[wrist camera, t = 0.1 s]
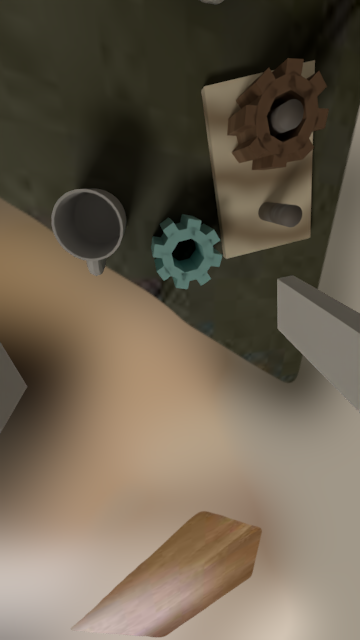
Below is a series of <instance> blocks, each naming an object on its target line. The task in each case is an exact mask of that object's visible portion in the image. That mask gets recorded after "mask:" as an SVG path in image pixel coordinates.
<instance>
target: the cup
mask: <svg viewBox="0 0 360 640" xmlns="http://www.w3.org/2000/svg"><path fill="white" fill-rule="evenodd" d="M126 221H127V220H126V213H125V211H124V208H123V206H122V204H121V203H120V201H119V200H118V199H117V198H116V197H115V196H114V195H113V194H111V193H109V192H107V191H105V190H101V189H97V188H95V189H75V190H72V191H70V192H67V193H65V194H64V195H63V196H62V197H60V198H59V200H58V201H57V203H56V204H55V206H54V208H53V212H52V228H53V232H54V235H55V237H56V239H57V241H58V242H59V244H60V245H61V246H62V247H63V248H64V249H65V250H66V251H67V252H69V253H70V254H71V255H73V256H74V257H77V258H79V259H82V260H86V261H87V266H88V269H89V271H90V273H91V274H93V275H96V276H97V275H100V274H102V273H103V270H104V268H105V264H106V258H107V257H109V256H110V255H111V254H113V253H114V252H115V251H116V249H117V248H118V247H119V245H120V242H121V240H122V237H123V234H124V231H125V229H126Z"/></svg>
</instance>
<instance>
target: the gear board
mask: <svg viewBox="0 0 360 640" xmlns="http://www.w3.org/2000/svg"><path fill="white" fill-rule="evenodd" d="M273 71H274V70H271V72H273ZM261 74H262V73H258V74H254V75H250V76H246V77H242V78H237V79H233V80H229V81H225V82H220V83H216V84H212V85H208V86H204V87H203V89H202V91H201V92H202V99H203V107H204V114H205V122H206V129H207V137H208V144H209V152H210V159H211V167H212V174H213V182H214V189H215V197H216V204H217V212H218V219H219V227H220V234H221V242H222V249H223V256H224V257H225V258H226V259H227V258H231V257H235V256H239V255H243V254H247V253H251V252H255V251H259V250H263V249H267V248H271V247H275V246H279V245H283V244H287V243H291V242H295V241H299V240H303V239H307V238H310V225H311V188H312V151H313V150H312V151H311V152H310V153H309V154H308V155H307V156H306V157H305V158H304V159H303V160H298V161H292V162H287V164H286V167H283V168H276V169H269V170H252V162H253V160H251V161H247V162H243V163H239V162H238V161H237V160H236V158H235V157H234V156H233V154H232V151H233V150H234V149H235V148H236V147H237V146H238V141H237V137H236V136H227V130H228V119H229V118H230V117H232V116H233V115H234V114H236V113H237V112H238V111H239V110H241V108H240V107H239V105H238V104H237V102H236V100H237V99H238V97H239V96H240V95H241V94H242V93H243V92H244V91H245V89H246V88H247V87H248V86H249V85H251V84H252V83H253V82H254V81H255V80H256V79H257V78H258V77H259V76H260V75H261ZM313 74H315V60H313V61H309V62H305V63H303V68H302V74H301V76H303V77H304V78H306V79H307V78H308V77H310V76H311V75H313ZM303 114H304V109H303V105H302V103H301V102H300V101H299V100H297V99H291V100H289V101H287V102H285V103H284V104H282V105H280V106H278V107H277V108H275V109H273V110H269V112H268V114H267V120H268V126H269V131H270V135H271V136H273V137H276V135H278V134H281V133H284V132H286V131H289V130H291V129H294V128H296V127H297V126H298V125H299V124H300V122H301V121H302V118H303ZM309 139H310V141H311V143H312V144H313V132H312V134H311V135H310V137H309Z"/></svg>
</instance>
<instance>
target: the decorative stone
mask: <svg viewBox="0 0 360 640" xmlns="http://www.w3.org/2000/svg"><path fill="white" fill-rule="evenodd" d="M200 1H202V2H204V3H210V4H215V5H216V4H220V3H221V2H223V1H224V0H200Z"/></svg>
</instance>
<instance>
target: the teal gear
mask: <svg viewBox="0 0 360 640" xmlns="http://www.w3.org/2000/svg"><path fill="white" fill-rule="evenodd" d="M160 226H161V228H162V230H163V232H164V233H163V234H162V236H161V237H155V236H153V238H152V246H151V248H152V254H153V257H156V259H155V265H156V270H157V272H158V274H159V275H160V276H161V277H162V279H163V280H164V281H165V280H166V279H167V278H169V277H170V276H172V277H173V280H174V283H175V286H176V288H183V289H188V285H189V281H191V280H195V279H197V280H198V282H199V283H200V285H201V286H202V285H203V284H204V283H206V282H207V281H209V280H210V279H211V278H210V276H209V275H208V273H207V271H208V269H209V268H210V266H216V267H219V266H220V262H221V258H222V254H221V253H219V252H218V251H217V250H216V249H215V248H213V245H214V244H216V243H217V242H219V241H220V239H219V237H218V235H217V234H216V232H215V230H214V229H212V228H211V227H209V226H207V225H205V224H204V223H203V224H202V225H201V220H199V219H197V218H196V217H194V216H190V215H185V214H182V216H181V221H180V223H177V224H174V222H173V221H172V220H171V219H170V218H169V217H168V218H167V219H166V220H164V221H163V222H162V223H160ZM188 239H193V240H194V242H195V247H196V249H195V251H194V252H193V254H192V255H191V257H190V258H189V259H185V260H181V261H178V260H177V259H175V258H174V257H172V252H173V250H174V249H175V247H176V245H177V244H178V242H180V241H184V240H188Z"/></svg>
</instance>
